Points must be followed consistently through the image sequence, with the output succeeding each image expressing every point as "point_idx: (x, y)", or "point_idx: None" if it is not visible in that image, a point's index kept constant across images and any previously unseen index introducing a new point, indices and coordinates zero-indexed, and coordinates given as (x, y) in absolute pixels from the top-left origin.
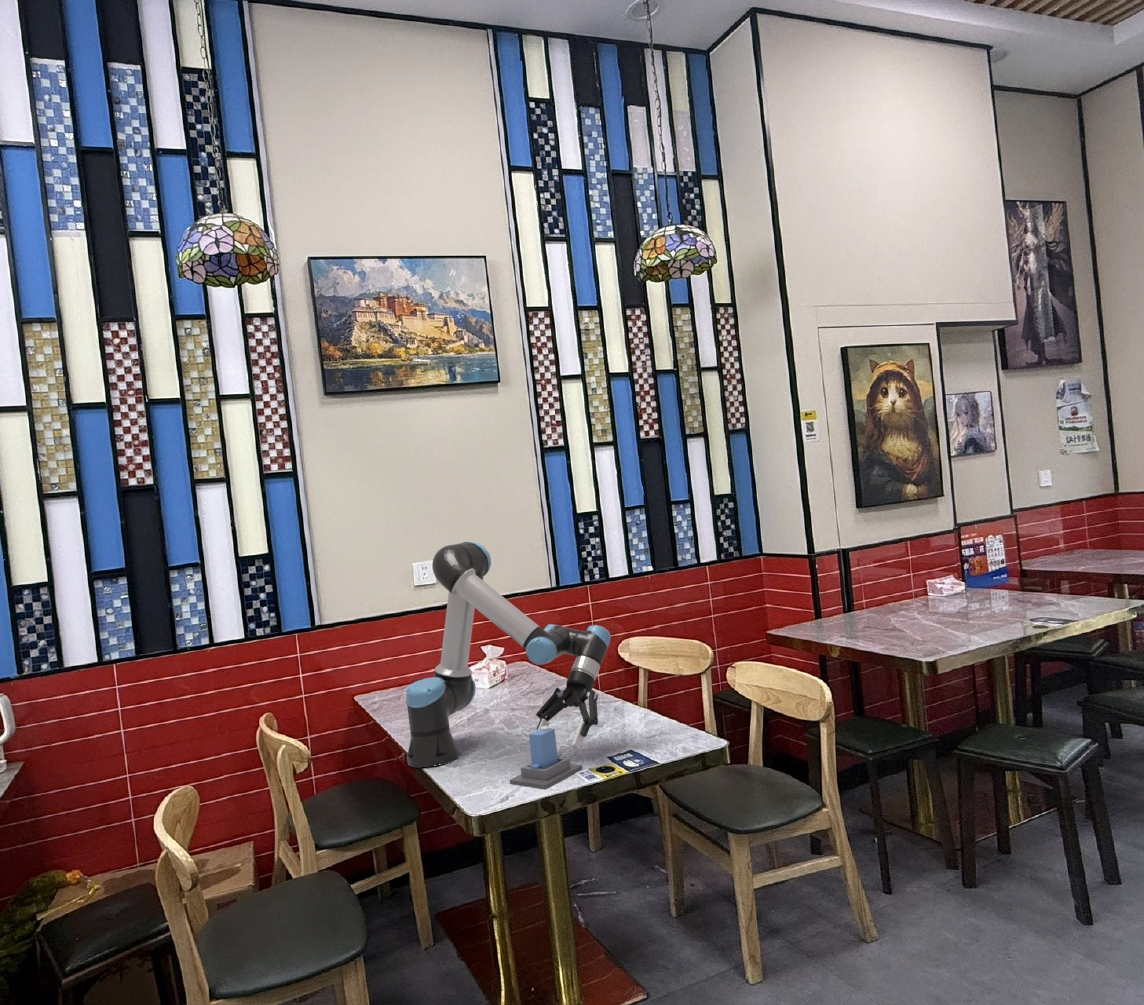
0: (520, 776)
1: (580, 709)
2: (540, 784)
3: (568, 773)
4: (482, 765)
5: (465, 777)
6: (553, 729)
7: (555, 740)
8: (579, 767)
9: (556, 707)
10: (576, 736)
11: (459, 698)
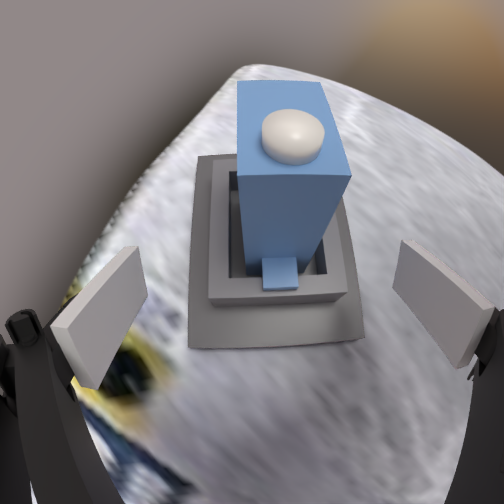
0: None
1: (60, 453)
2: (215, 156)
3: (191, 263)
4: (496, 248)
5: (456, 174)
6: (237, 166)
7: (241, 218)
8: (188, 330)
9: (497, 432)
10: (110, 267)
11: None
